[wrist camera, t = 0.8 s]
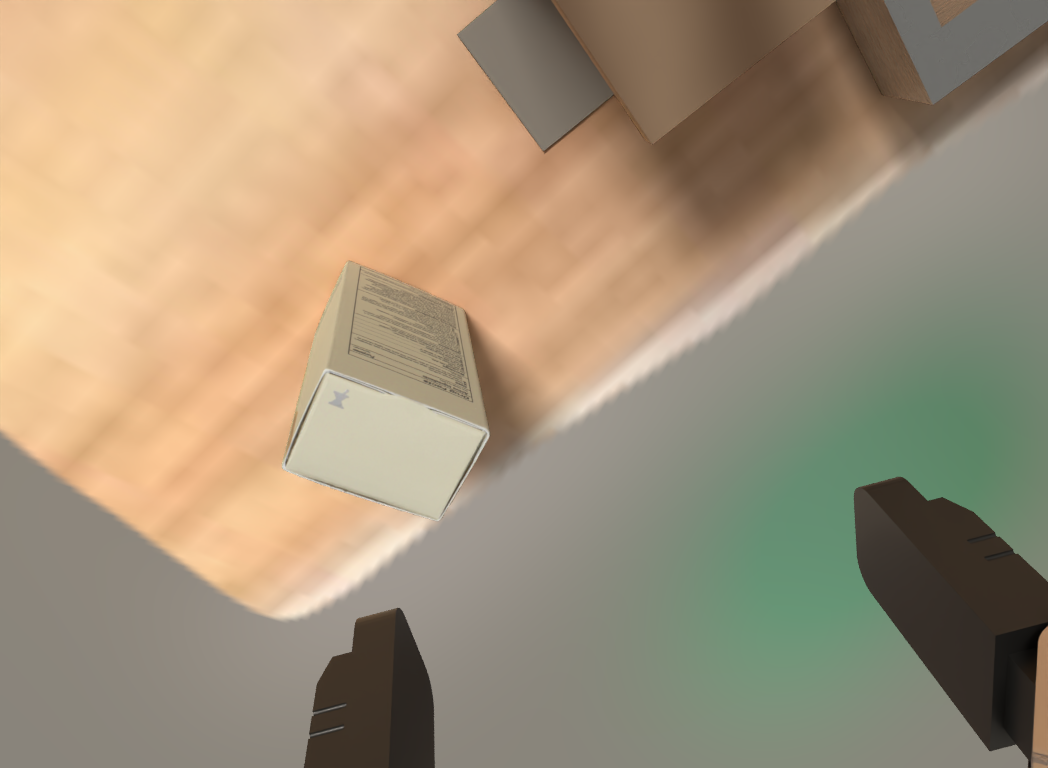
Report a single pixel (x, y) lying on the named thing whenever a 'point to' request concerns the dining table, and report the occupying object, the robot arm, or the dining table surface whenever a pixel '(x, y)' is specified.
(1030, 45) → the dining table surface
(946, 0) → the crook
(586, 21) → the brown wooden box
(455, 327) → the skincare box
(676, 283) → the dining table surface
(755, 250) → the dining table surface
